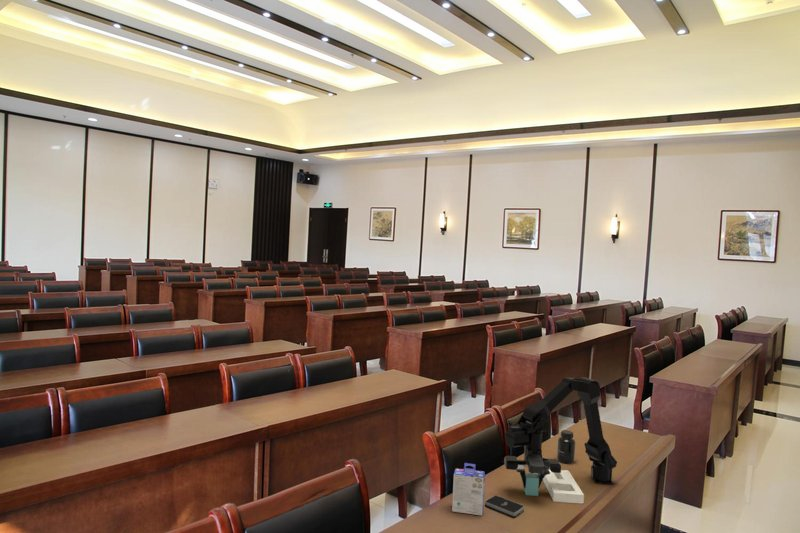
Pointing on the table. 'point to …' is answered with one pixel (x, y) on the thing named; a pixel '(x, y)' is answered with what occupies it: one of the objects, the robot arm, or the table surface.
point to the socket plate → (563, 487)
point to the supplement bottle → (566, 447)
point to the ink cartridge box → (468, 490)
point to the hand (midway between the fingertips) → (531, 488)
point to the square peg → (531, 484)
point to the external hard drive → (504, 506)
